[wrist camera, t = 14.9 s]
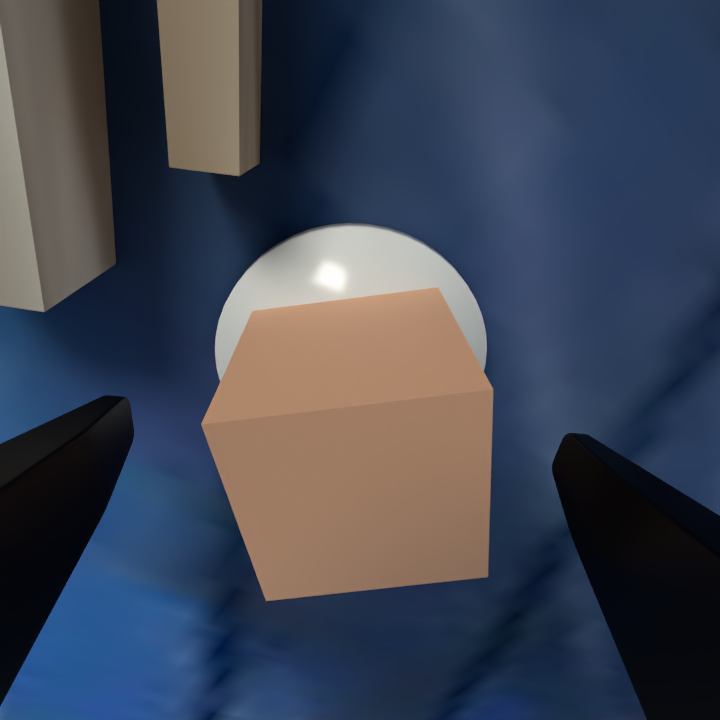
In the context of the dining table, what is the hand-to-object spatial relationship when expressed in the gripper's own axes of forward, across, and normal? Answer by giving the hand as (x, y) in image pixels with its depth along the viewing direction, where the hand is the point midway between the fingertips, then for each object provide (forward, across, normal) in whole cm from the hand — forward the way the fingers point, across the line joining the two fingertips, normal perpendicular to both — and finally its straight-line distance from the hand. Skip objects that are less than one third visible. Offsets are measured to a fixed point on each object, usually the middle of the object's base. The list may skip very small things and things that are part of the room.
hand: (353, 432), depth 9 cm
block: (+3, 0, 0) cm, 3 cm away
